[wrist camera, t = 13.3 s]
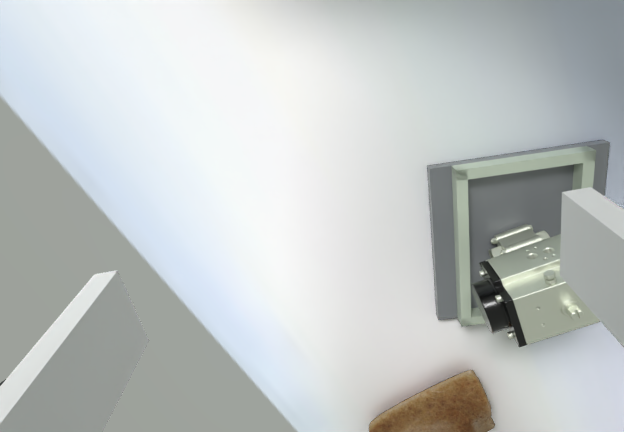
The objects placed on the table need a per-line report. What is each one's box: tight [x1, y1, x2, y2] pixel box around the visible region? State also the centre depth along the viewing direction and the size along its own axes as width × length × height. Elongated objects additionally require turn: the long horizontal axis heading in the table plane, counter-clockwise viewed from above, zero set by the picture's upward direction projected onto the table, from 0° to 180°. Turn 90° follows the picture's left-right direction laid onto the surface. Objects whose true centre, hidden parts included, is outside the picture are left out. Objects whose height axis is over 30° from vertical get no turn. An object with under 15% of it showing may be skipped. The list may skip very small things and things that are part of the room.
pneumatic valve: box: [471, 224, 601, 347], centre depth 39 cm, size 6×12×12 cm, turn 114°
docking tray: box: [427, 140, 610, 326], centre depth 44 cm, size 17×16×2 cm
